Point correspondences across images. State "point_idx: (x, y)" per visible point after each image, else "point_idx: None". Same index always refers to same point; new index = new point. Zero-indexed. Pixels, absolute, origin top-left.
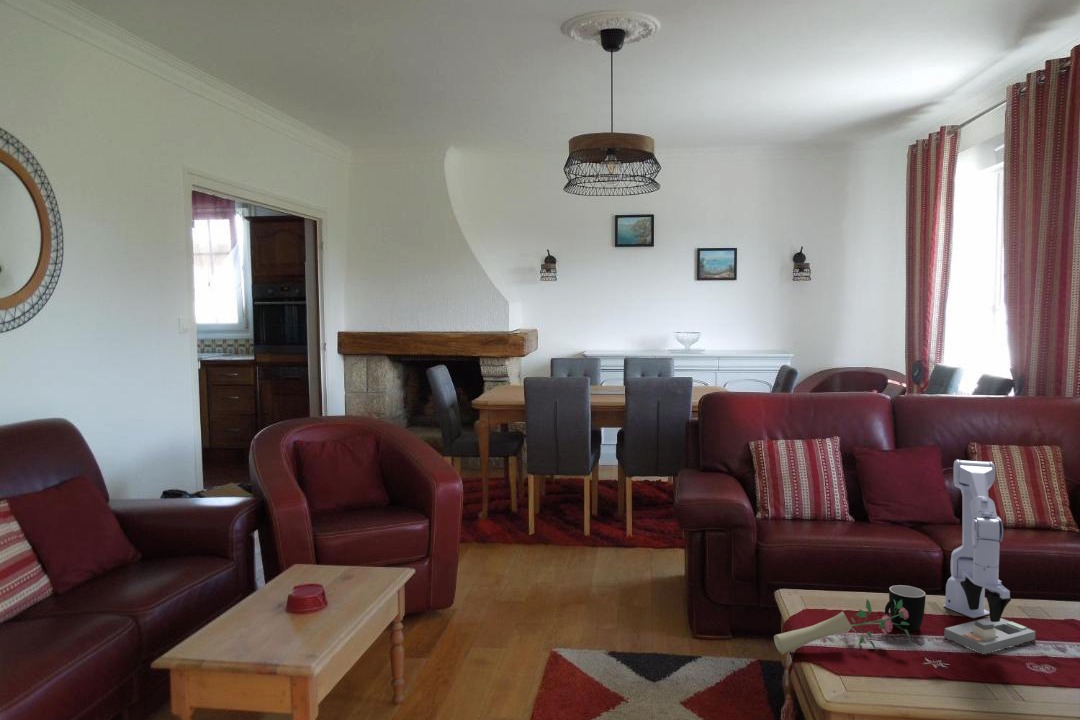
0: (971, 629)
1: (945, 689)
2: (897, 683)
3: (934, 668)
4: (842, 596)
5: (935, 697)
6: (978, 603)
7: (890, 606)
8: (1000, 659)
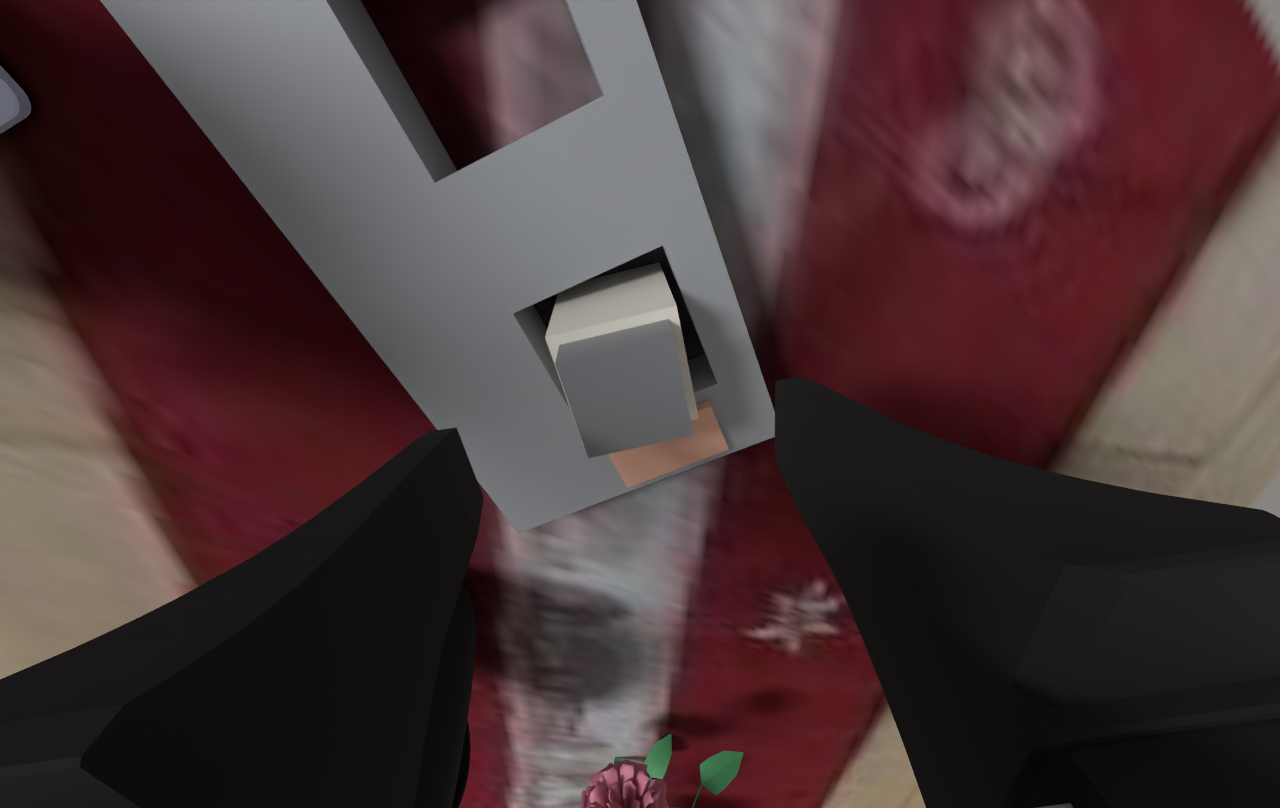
0: (517, 383)
1: None
2: None
3: (842, 635)
4: None
5: None
6: (426, 465)
7: None
8: (832, 335)
